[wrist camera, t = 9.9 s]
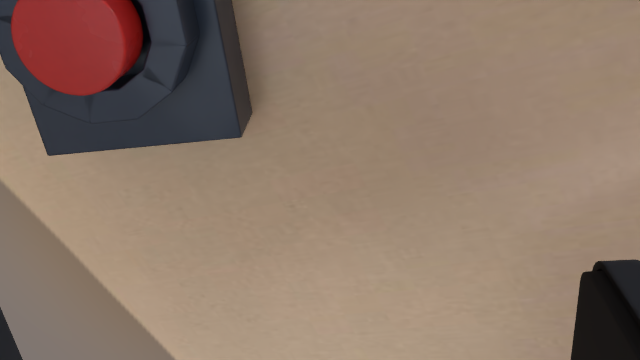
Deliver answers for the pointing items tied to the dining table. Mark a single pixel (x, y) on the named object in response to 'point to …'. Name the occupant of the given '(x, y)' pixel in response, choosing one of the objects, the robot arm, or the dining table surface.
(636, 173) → the dining table surface
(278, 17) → the dining table surface
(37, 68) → the button
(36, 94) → the button box
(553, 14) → the dining table surface
